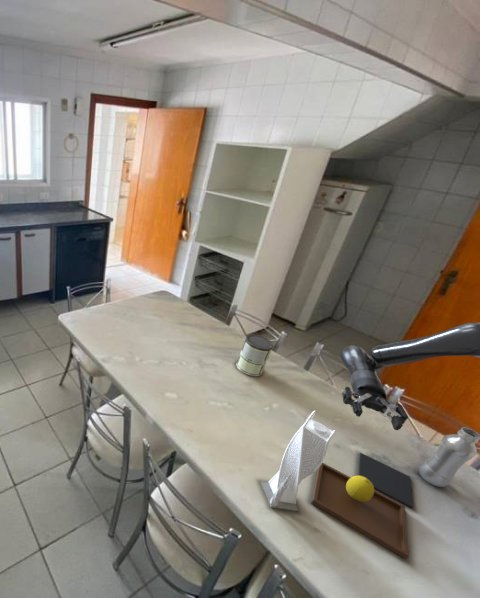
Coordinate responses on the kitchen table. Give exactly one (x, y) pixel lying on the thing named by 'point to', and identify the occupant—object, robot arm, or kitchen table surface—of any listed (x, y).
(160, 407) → the kitchen table surface
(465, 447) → the silver metal flask
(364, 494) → the lemon
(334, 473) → the tray
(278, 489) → the skyscraper
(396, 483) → the plate
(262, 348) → the coffee can
